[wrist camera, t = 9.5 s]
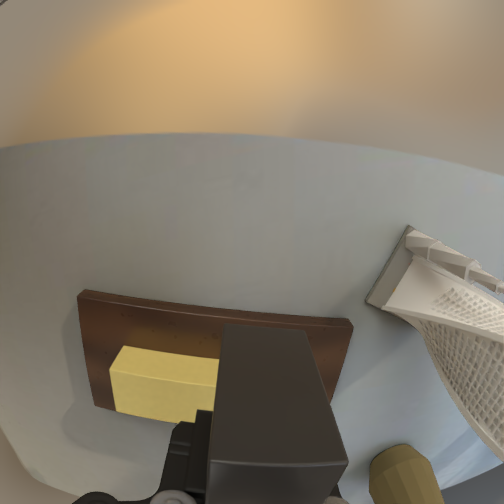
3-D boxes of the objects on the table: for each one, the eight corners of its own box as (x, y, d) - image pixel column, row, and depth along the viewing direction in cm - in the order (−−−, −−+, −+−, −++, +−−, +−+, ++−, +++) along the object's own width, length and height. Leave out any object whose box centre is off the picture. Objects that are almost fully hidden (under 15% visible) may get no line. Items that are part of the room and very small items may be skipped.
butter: (123, 344, 23) (108, 368, 20) (246, 361, 24) (246, 389, 21) (127, 386, 25) (115, 411, 21) (240, 402, 25) (240, 430, 22)
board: (84, 288, 24) (76, 295, 22) (348, 318, 25) (354, 326, 23) (99, 397, 27) (94, 406, 25) (317, 421, 28) (320, 432, 26)
